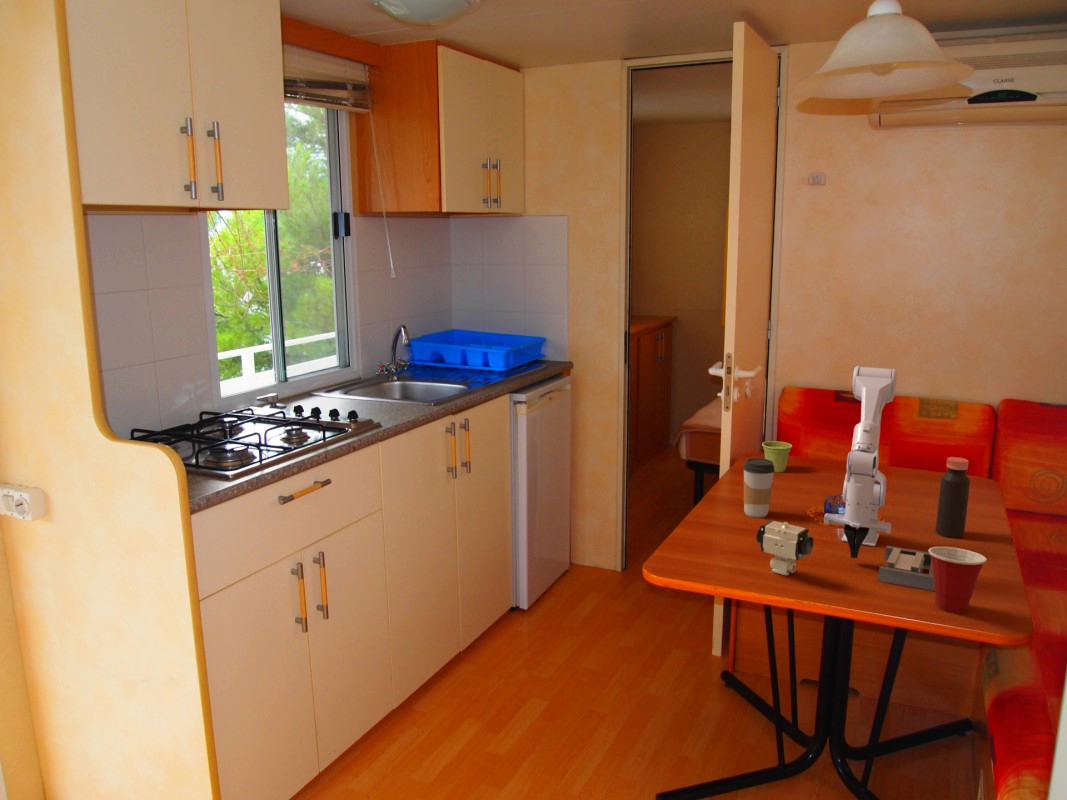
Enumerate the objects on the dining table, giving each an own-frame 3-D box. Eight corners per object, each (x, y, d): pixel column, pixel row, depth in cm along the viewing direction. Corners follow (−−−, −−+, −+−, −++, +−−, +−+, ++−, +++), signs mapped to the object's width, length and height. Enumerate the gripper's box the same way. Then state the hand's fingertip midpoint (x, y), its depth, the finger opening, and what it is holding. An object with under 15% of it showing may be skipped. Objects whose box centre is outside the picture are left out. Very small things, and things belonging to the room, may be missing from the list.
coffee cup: (775, 519, 231) (779, 465, 228) (744, 518, 231) (748, 465, 228) (766, 509, 239) (770, 457, 236) (737, 509, 239) (740, 457, 236)
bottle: (954, 540, 216) (963, 464, 213) (929, 532, 222) (937, 458, 218) (969, 535, 220) (978, 460, 216) (944, 527, 226) (952, 454, 222)
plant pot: (769, 475, 273) (771, 448, 272) (755, 467, 282) (756, 441, 281) (795, 473, 276) (797, 447, 274) (780, 465, 285) (782, 440, 283)
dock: (885, 557, 204) (886, 545, 204) (938, 566, 199) (939, 554, 199) (878, 580, 190) (879, 568, 190) (934, 591, 185) (935, 578, 185)
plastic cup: (980, 602, 180) (986, 548, 178) (980, 622, 170) (987, 566, 168) (924, 592, 185) (929, 539, 182) (921, 611, 175) (927, 556, 173)
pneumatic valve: (762, 563, 200) (765, 514, 198) (811, 576, 193) (815, 525, 190) (752, 569, 196) (755, 520, 193) (801, 583, 189) (805, 532, 186)
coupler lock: (891, 563, 201) (892, 547, 201) (923, 569, 198) (925, 553, 197) (884, 578, 193) (886, 561, 192) (917, 584, 189) (919, 567, 189)
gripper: (823, 501, 197) (819, 556, 200) (891, 511, 190) (885, 568, 193) (828, 493, 203) (824, 546, 206) (894, 502, 197) (888, 557, 199)
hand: (854, 556), depth 200 cm, fingers closed
